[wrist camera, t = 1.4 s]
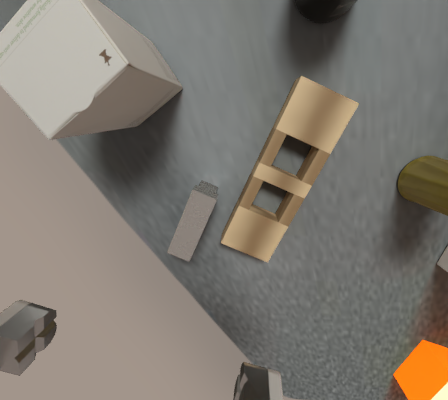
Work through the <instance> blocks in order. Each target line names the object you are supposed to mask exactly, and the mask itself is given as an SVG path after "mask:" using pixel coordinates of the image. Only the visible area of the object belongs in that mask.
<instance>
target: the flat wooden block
mask: <svg viewBox="0 0 448 400" xmlns="http://www.w3.org/2000/svg"><path fill="white" fill-rule="evenodd" d="M358 105H359V103H357V102H355V101H353V100H351V99H349V98H347V97H345V96H343V95H341V94H338V93H336V92H334V91H332V90H330V89H328V88H326V87H324V86H322V85H320V84H318V83H316V82H314V81H311V80H309V79H307V78H305V77H303V76H300V77H299V78H298V79H296V80H295V82H294V84H293V86H292V88H291V90H290V92H289V94H288V96H287V98H286V101H285V103H284V105H283V107H282V109H281V111H280V113H279V115H278V117H277V119H276V122H275V124H274V126H273V128H272V130H271V132H270V134H269V136H268V138H267V140H266V142H265V145H264V147H263V149H262V151H261V153H260V155H259V157H258V159H257V161H256V163H255V165H254V168H253V170H252V172H251V174H250V176H249V178H248V180H247V182H246V184H245V186H244V189H243V191H242V193H241V195H240V197H239V199H238V201H237V203H236V205H235V207H234V209H233V212H232V214H231V216H230V218H229V220H228V222H227V224H226V226H225V228H224V230H223V233H222V238H221V243H222V244H224V245H227V246H229V247H231V248H234V249H236V250H239V251H241V252H244V253H246V254H249V255H251V256H253V257H256V258H258V259H261V260H263V261H266V262H268V261H269V259H270V257H271V256H272V254H273V252H274V250H275V249H276V247H277V245H278V244H279V242H280V240H281V238H282V237H283V235H284V233H285V231H286V230H287V228H288V226H289V224H290V223H291V221H292V219H293V218H294V216H295V214H296V212H297V211H298V209H299V207H300V205H301V204H302V202H303V200H304V198H305V197H306V195H307V193H308V192H309V190H310V188H311V186H312V185H313V183H314V181H315V179H316V178H317V176H318V174H319V172H320V171H321V169H322V167H323V166H324V164H325V162H326V160H327V159H328V157H329V155H330V153H331V152H332V150H333V148H334V146H335V145H336V143H337V141H338V140H339V138H340V136H341V134H342V133H343V131H344V129H345V127H346V126H347V124H348V122H349V120H350V119H351V117H352V115H353V114H354V112H355V110H356V108H357V107H358ZM286 135H289V136H291V137H293V138H295V139H297V140H300V141H302V142H304V143H306V144H308V145H311V146H312V147H311V149H310V151H309V153H308V155H307V156H306V158H305V160H304V162H303V164H302V166H301V167H300V169H299V171H298V173H297V175H296V176H295V175H293V174H291V173H289V172H286V171H284V170H282V169H280V168H278V167H275V166H273V165H272V163H273V161H274V159H275V157H276V155H277V153H278V151H279V149H280V147H281V145H282V143H283V141H284V139H285V137H286ZM263 181H265V182H268V183H270V184H272V185H275V186H277V187H279V188H281V189H284V190H286V191H287V193H286V195H285V197H284V199H283V200H282V202H281V204H280V206H279V208H278V210H277V211H276V213H275V214H274V213H272V212H270V211H267V210H265V209H263V208H260V207H258V206H256V205H253V204H252V203H253V201H254V199H255V197H256V195H257V193H258V191H259V189H260V187H261V185H262V183H263Z"/></svg>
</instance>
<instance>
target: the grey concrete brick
mask: <svg viewBox="0 0 448 400" xmlns="http://www.w3.org/2000/svg"><path fill="white" fill-rule="evenodd" d="M217 188H218V187H217V186H214V185H212V184H210V183H207V182H205V181H203V180H201V182H200V184H199V185H198V186H197V185H195V186H194V188H193V189H192V192H191V194H190V197H189V199H188V202H187V204H186V207H185V209H184V212H183V214H182V217H181V219H180V222H179V224H178V227H177V229H176V232H175V234H174V237H173V239H172V242H171V244H170V247H169V249H168V252H167V253H169V254H171V255H174V256H176V257H179V258H181V259H184V260H186V261H190V259H191V257H192V255H193V252H194V250H195V248H196V246H197V243H198V241H199V239H200V237H201V235H202V232H203V230H204V228H205V226H206V223H207V221H208V219H209V217H210V214H211V212H212V210H213V208H214V205H215V203H216V201H217V198H218V194H216V191H217Z"/></svg>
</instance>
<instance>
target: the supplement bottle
mask: <svg viewBox="0 0 448 400" xmlns="http://www.w3.org/2000/svg"><path fill="white" fill-rule="evenodd" d="M356 1H357V0H295V4H296V6H297V8H298V10H299V12H300V13H301V14H302V15H303V16H304V17H305V18H306V19H308V20H310V21H312V22H315V23H327V22H331V21H334V20H336V19H337V18H339V17H341V16H342V15H343V14H344V13H345V12H347V11H348V10H349V9H350V8H351V7H352V5H353V4H354V3H355V2H356Z"/></svg>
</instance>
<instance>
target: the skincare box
mask: <svg viewBox="0 0 448 400" xmlns="http://www.w3.org/2000/svg"><path fill="white" fill-rule="evenodd" d="M0 85H1V87H2V88H3V89H4V90H5V91H6V92H7V93H8V94H9V96H10V97H11V98H12V99H13V100H14V101H15V102H16V104H17V105H18V106H19V107H20V108H21V109H22V110H23V112H24V113H25V114H26V115H27V116H28V117H29V118H30V119H31V121H32V122H33V123H34V124H35V125H36V126H37V127H38V129H39V130H40V131H41V132H42V133H43V134H44V135H45V137H46V138H47V139H49V140H52V139H59V138H65V137H72V136H78V135H85V134H91V133H98V132H104V131H111V130H117V129H123V128H130V127H137V126H138V125H140V124H141V123H142V122H143V121H145V120H146V119H147V118H148V117H150V116H151V115H152V114H153V113H154V112H156V111H157V110H158V109H159V108H161V107H162V106H163V105H164V104H165V103H167V102H168V101H169V100H170V99H171V98H173V97H174V96H175V95H176V94H177V93H178V92H179V91H181V90H182V85H181V84H180V82H179V81H178V79H177V78H176V76H175V75H174V73H173V72H172V70H171V69H170V67H169V66H168V65H167V63H166V62H165V60H164V59H163V57H162V56H161V54H160V53H159V52H158V50H157V49H156V47H155V46H154V44H153V43H152V42H151V41H150V40H149V39H147V38H146V37H145V36H144V35H142V34H141V33H140V32H138V31H137V30H136V29H135V28H133V27H132V26H131V25H129V24H128V23H127V22H126V21H124V20H123V19H122V18H120V17H119V16H118V15H116V14H115V13H114V12H113V11H111V10H110V9H109V8H107V7H106V6H105V5H103V4H102V3H101V2H99V1H98V0H27V1H26V2H25V3H24V5H23V6H22V7H21V8H20V9H19V11H18V12H17V13H16V14H15V15H14V17H13V18H12V19H11V20H10V21H9V23H8V24H7V25H6V26H5V27H4V29H3V30H2V31H1V32H0Z"/></svg>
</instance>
